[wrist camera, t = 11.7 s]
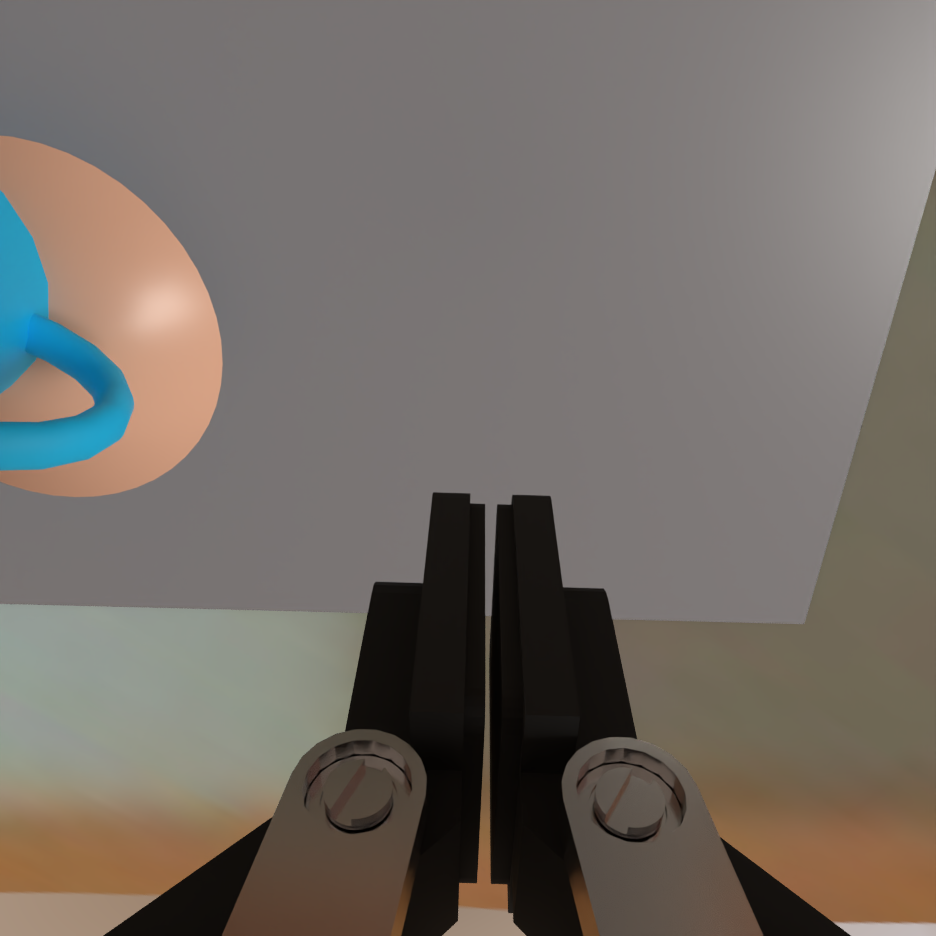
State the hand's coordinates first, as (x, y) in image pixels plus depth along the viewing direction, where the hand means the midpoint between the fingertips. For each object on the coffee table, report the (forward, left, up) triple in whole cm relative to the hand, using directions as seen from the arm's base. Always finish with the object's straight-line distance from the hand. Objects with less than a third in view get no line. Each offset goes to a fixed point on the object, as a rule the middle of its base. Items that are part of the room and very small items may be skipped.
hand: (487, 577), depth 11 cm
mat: (+1, -5, -13) cm, 14 cm away
